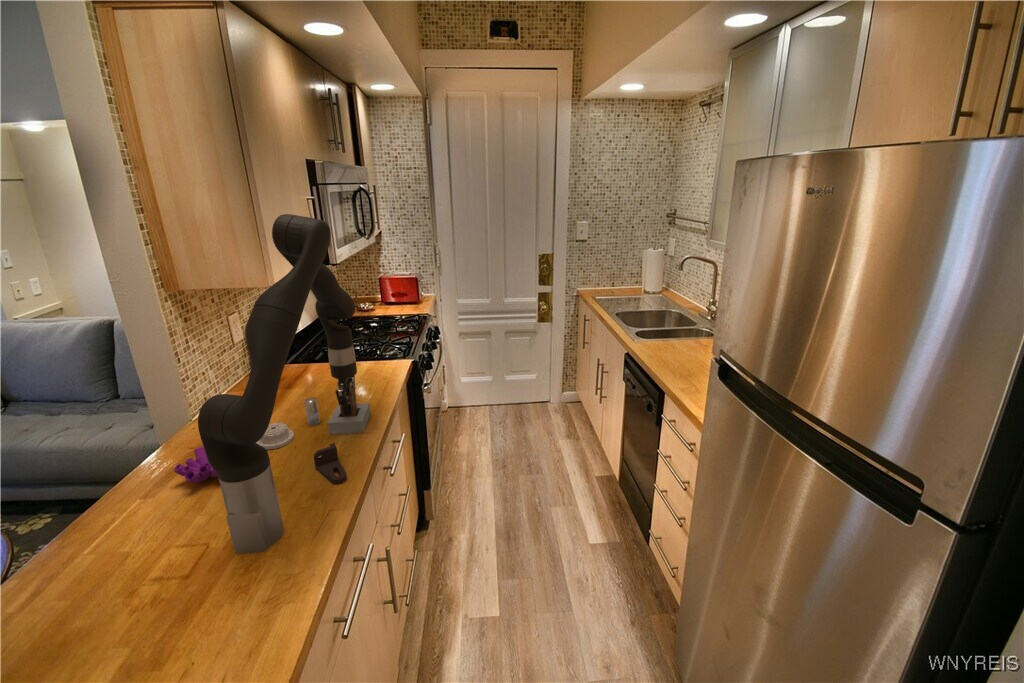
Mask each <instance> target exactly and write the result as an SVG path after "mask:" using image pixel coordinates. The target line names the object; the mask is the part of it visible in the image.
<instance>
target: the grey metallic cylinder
mask: <svg viewBox="0 0 1024 683" xmlns="http://www.w3.org/2000/svg"><path fill="white" fill-rule="evenodd" d="M303 402H304V407H305V408H304V409H305V414H306V420H307V421H306V422H307V425H308V426H316V425H318V424H320V423H321V419H320V411H319V405H318V400H317V397H307V398H306V399H304V400H303Z"/></svg>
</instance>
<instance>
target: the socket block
mask: <svg viewBox="0 0 1024 683" xmlns="http://www.w3.org/2000/svg"><path fill="white" fill-rule="evenodd" d="M357 410H358V415H357V416H354V417H341V410H340V405H339V403H338V405H337V406H336V407H335V410H333V413H332V415H331V417H330V418H329V419H328V422H327V427H328V434H329V435H341V434H343V435H345V434H362V433H364V432H365V430H366V427H367V425H368V422H369V420H370V416H371V415H372V414H371V404H370V402H367V403H366V402H365V403H362V402H361V403H357Z"/></svg>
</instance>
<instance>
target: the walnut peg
mask: <svg viewBox="0 0 1024 683" xmlns="http://www.w3.org/2000/svg"><path fill="white" fill-rule="evenodd" d="M350 393H351V396H350V407H351V414H350V415H344V414H343V408H342V405H340V410H341V417H354V416H357V415H358V410H357V404H358V403H357V397H356V396H357V395H356V385H355V386H353V387H351V391H350ZM346 394H348V392H347V393H346Z"/></svg>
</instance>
